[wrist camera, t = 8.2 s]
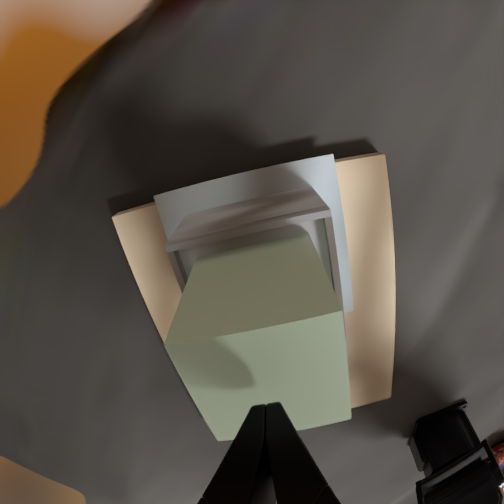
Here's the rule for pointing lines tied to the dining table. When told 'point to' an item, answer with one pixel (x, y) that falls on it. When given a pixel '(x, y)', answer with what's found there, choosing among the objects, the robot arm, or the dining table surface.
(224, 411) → the sage block
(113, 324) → the dining table surface
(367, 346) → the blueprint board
